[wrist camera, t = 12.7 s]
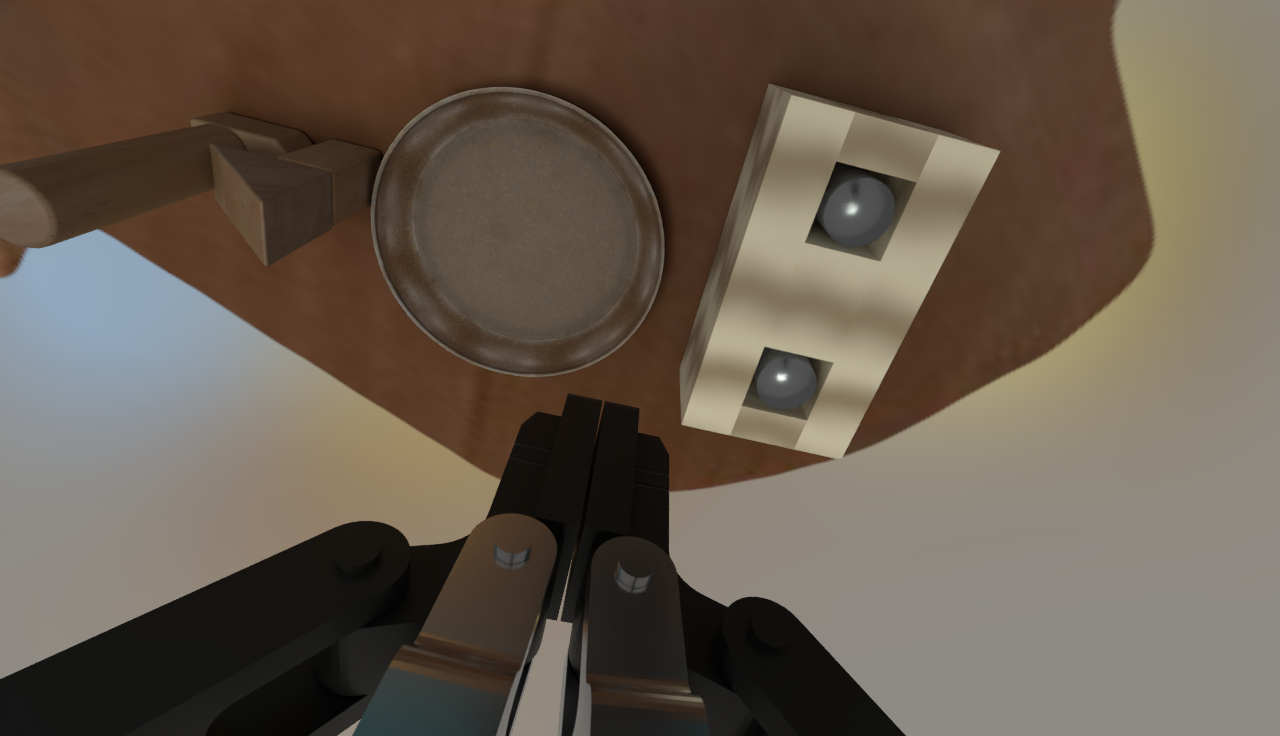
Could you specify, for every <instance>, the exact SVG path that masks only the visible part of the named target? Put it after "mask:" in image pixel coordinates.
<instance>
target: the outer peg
mask: <svg viewBox="0 0 1280 736" xmlns="http://www.w3.org/2000/svg"><path fill="white" fill-rule="evenodd" d="M753 376H754V380H755V384H756V388H757V392H758V395H759V397H760V398H761V400H762V401H763V402H764V403H765V404H767V405H768V406H770V407H772V408H776V409H782V410H785V409H792V408H796V407H798V406H800V405H802V404H804V403H805V402H807V401H808V400H809V399H810V398H811V396H812V395H813V393H814V392H815V389H816V385H817V379H816V375H815V373H814V370H813V368H812V366H811V363H810V361H809V359H808V357H807V356H803V355H798V354H794V353H790V352H786V351H781V350H777V349H773V348H768V347H764V349H763V352H762V355H761V357H760V360H759V362H758V365H757V368H756V370H755V373H754V375H753Z"/></svg>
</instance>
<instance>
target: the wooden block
mask: <svg viewBox="0 0 1280 736" xmlns="http://www.w3.org/2000/svg"><path fill="white" fill-rule="evenodd" d="M190 123H191V127H189V128H184V129H179V130H174V131H169V132H164V133H159V134H154V135H149V136H144V137H139V138H134V139H129V140H124V141H119V142H114V143H109V144H104V145H100V146H95V147H90V148H85V149H80V150H75V151H70V152H65V153H60V154H55V155H50V156H45V157H40V158H35V159H30V160H25V161H20V162H15V163H10V164H5V165H0V237H1V238H3V239H4V240H6V241H8V242H10V243H12V244H15V245H18V246H21V247H30V248H43V247H46V246H50V245H53V244H56V243H59V242H62V241H64V240H68V239H70V238H73V237H76V236H79V235H81V234H85V233H87V232H91V231H93V230H96V229H99V228H102V227H105V226H108V225H111V224H114V223H117V222H119V221H122V220H125V219H128V218H131V217H134V216H137V215H140V214H142V213H145V212H148V211H151V210H154V209H157V208H160V207H163V206H165V205H168V204H171V203H174V202H177V201H180V200H183V199H186V198H188V197H191V196H194V195H197V194H200V193H203V192H206V191H209V190H211V189H215V197H216V201H217V202H218V204H219V205H220V206H221V208H222V209H223V210H224V212H225V213H226V214H227V216H228V217H229V218H230V220H231V221H232V222H233V224H234V225H235V226H236V228H237V229H238V230H239V232H240V233H241V234H242V236H243V237H244V238H245V240H246V241H247V242H248V244H249V245H250V246H251V248H252V249H253V250H254V252H255V253H256V255H257V256H258V257H259V259H260V260H261V261H262V263H263V264H264V265H265V266H269V265H271V264H272V263H274V262H276V261H278V260H279V259H281V258H283V257H284V256H286V255H288V254H289V253H291V252H293V251H295V250H296V249H298V248H300V247H301V246H303V245H305V244H306V243H308V242H310V241H312V240H313V239H315V238H317V237H318V236H320V235H322V234H323V233H325V232H327V231H329V230H330V229H331V228H332V226H334V225H336V224H338V223H340V222H342V221H343V220H345V219H347V218H348V217H350V216H352V215H354V214H355V213H357V212H359V211H360V210H362V209H364V208H366V207H367V206H369V205H371V202H372V194H373V188H374V183H375V179H376V176H377V173H378V170H379V167H380V165H381V154H380V152H379V151H377V150H374V149H370V148H366V147H362V146H359V145H355V144H351V143H347V142H343V141H339V140H335V139H333V140H328V141H325V142H322V143H319V144H316V145H313V144H312V142H311V141H310V140H309V139H308V138H307V136H306V135H305V134H304V133H303V132H301V131H298V130H295V129H291V128H287V127H283V126H279V125H275V124H271V123H267V122H263V121H259V120H255V119H251V118H247V117H243V116H239V115H235V114H231V113H227V112H224V113H218V114H213V115H207V116H202V117H197V118H192V119H191V122H190Z"/></svg>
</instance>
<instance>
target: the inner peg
mask: <svg viewBox="0 0 1280 736" xmlns="http://www.w3.org/2000/svg"><path fill="white" fill-rule="evenodd" d="M894 213H895V201H894V197H893V195H892V193H891V191H890V189H889V188H888V187H887V186H886V185H885V184H883V183H882V182H881V181H879V180H878V179H876V178H875V177H873V176H872V175H871V174H869V173H868V172H866V171H865V170H864V169H862V168H860V167H856V166H852V165H848V164H845V163H841V162H837V161H836V164H835V166H834V169H833V171H832V174H831V177H830V179H829V182H828V184H827V187H826V190H825V192H824V195H823V197H822V200H821V202H820V205H819V208H818V210H817V213H816V215H815V218H816V219H817V220H818V222H819V223H820V224H821V225H822V227H823V228H824V229H825V230H826V232H827V233H828V234H829V235H830V237H831V238H832V239H833V240H834V241H836V242H837V243H839V244H841V245H844V246H848V247H860V246H864V245H867V244H870V243H872V242H873V241H875V240H877V239H878V238H879V237H881V236H882V235H883V234H884V233H885V231H886V230H887V229H888V227H889V226H890V224H891V222H892V220H893V217H894Z"/></svg>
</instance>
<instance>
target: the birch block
mask: <svg viewBox="0 0 1280 736" xmlns="http://www.w3.org/2000/svg"><path fill="white" fill-rule="evenodd" d="M999 153H1000V151H998V150H996V149H993V148H990V147H987V146H984V145H982V144H979V143H976V142H973V141H971V140H968V139H965V138H962V137H960V136H957V135H954V134H951V133H949V132H946V131H943V130H940V129H936V128H932V127H929V126H925V125H921V124H918V123H914V122H910V121H906V120H903V119H899V118H895V117H892V116H888V115H884V114H881V113H877V112H873V111H869V110H866V109H862V108H858V107H855V106H851V105H847V104H844V103H840V102H836V101H832V100H829V99H825V98H821V97H818V96H814V95H810V94H807V93H803V92H799V91H795V90H792V89H788V88H784V87H781V86H777V85H773V84H770V83H769V85H768V88H767V91H766V94H765V97H764V101H763V104H762V107H761V110H760V113H759V117H758V120H757V123H756V126H755V129H754V133H753V136H752V139H751V142H750V145H749V149H748V152H747V155H746V158H745V161H744V165H743V168H742V171H741V174H740V177H739V181H738V184H737V187H736V190H735V193H734V197H733V200H732V203H731V206H730V209H729V213H728V216H727V219H726V222H725V225H724V228H723V232H722V235H721V238H720V241H719V244H718V248H717V251H716V254H715V257H714V260H713V264H712V267H711V270H710V273H709V276H708V280H707V283H706V286H705V289H704V292H703V296H702V299H701V302H700V305H699V308H698V312H697V315H696V318H695V321H694V324H693V328H692V331H691V334H690V337H689V340H688V344H687V347H686V350H685V353H684V356H683V360H682V363H681V366H680V395H681V422H682V425H685V426H690V427H694V428H699V429H703V430H708V431H713V432H717V433H722V434H726V435H731V436H735V437H740V438H744V439H749V440H754V441H758V442H763V443H767V444H772V445H776V446H781V447H786V448H790V449H795V450H799V451H804V452H808V453H813V454H818V455H822V456H827V457H831V458H836V459H840V460H841V459H842V457H843V455H844V453H845V451H846V449H847V447H848V445H849V443H850V441H851V439H852V437H853V435H854V434H855V432H856V430H857V428H858V426H859V424H860V422H861V420H862V418H863V416H864V414H865V412H866V410H867V408H868V406H869V405H870V403H871V401H872V399H873V397H874V395H875V393H876V391H877V389H878V387H879V385H880V383H881V381H882V379H883V377H884V376H885V374H886V372H887V370H888V368H889V366H890V364H891V362H892V360H893V358H894V356H895V354H896V352H897V350H898V348H899V347H900V345H901V343H902V341H903V339H904V337H905V335H906V333H907V331H908V329H909V327H910V325H911V323H912V321H913V319H914V318H915V316H916V314H917V312H918V310H919V308H920V306H921V304H922V302H923V300H924V298H925V296H926V294H927V292H928V290H929V289H930V287H931V285H932V283H933V281H934V279H935V277H936V275H937V273H938V271H939V269H940V267H941V265H942V263H943V261H944V259H945V258H946V256H947V254H948V252H949V250H950V248H951V246H952V244H953V242H954V240H955V238H956V236H957V234H958V232H959V230H960V229H961V227H962V225H963V223H964V221H965V219H966V217H967V215H968V213H969V211H970V209H971V207H972V205H973V203H974V201H975V200H976V198H977V196H978V194H979V192H980V190H981V188H982V186H983V184H984V182H985V180H986V178H987V176H988V174H989V172H990V171H991V169H992V167H993V165H994V163H995V161H996V159H997V157H998V155H999ZM836 161H837V162H841V163H845V164H848V165H852V166H856V167H860V168H864V169H867V170H868V173H869V174H871V175H872V176H873V177H875V178H876V179H878V180H879V181H881V182H882V183H883V184H885V185H886V186H887V187H888V188H889V189H890V191H891V193H892V195H893V197H894V201H895V213H894V217H893V220H892V222H891V224H890V226H889V227H888V229H887V230H886V231H885V233H884V234H883V235H882V236H881V237H879V238H878V239H877V240H875V241H873V242H872V243H870V244H867V245H864V246H860V247H848V246H844V245H841V244H839V243H837V242H836V241H834V240H833V239H832V238H831V237H830V235H829V234H828V233H827V232H826V230H825V229H824V228H823V227H822V225H821V224H820V223H819V222H818V220H817V219H816V218H815V215H816V213H817V210H818V208H819V205H820V202H821V200H822V197H823V195H824V192H825V190H826V187H827V184H828V182H829V179H830V177H831V174H832V171H833V169H834V166H835V164H836ZM764 347H768V348H773V349H777V350H781V351H786V352H790V353H794V354H798V355H803V356H807V357H808V359H809V361H810V363H811V366H812V368H813V370H814V373H815V375H816V379H817V385H816V389H815V392H814V393H813V395H812V396H811V398H810V399H809V400H808V401H807V402H805V403H804V404H802V405H800V406H798V407H796V408H792V409H785V410H782V409H776V408H772V407H770V406H768V405H767V404H765V403H764V402H763V401H762V400H761V398H760V397H759V395H758V392H757V388H756V384H755V380H754V376H753V375H754V373H755V370H756V368H757V365H758V362H759V360H760V357H761V355H762V352H763V349H764Z"/></svg>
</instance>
